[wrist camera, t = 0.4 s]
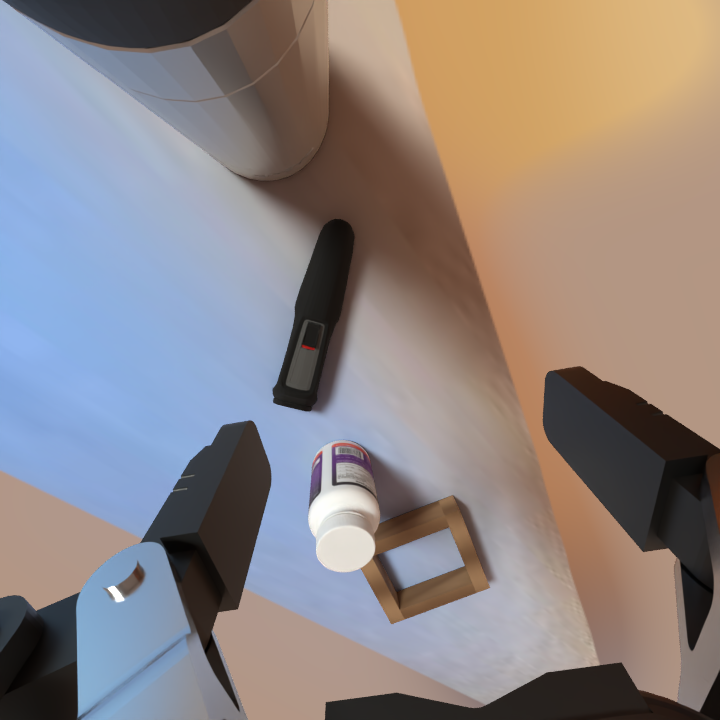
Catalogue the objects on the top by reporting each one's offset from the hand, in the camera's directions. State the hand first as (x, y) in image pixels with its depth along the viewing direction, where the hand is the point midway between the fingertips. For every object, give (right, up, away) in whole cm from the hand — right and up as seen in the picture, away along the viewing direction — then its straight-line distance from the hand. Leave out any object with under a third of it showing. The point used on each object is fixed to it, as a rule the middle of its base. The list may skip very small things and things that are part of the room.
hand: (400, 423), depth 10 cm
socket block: (+5, -18, +27) cm, 33 cm away
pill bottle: (-3, -8, +23) cm, 24 cm away
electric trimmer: (-5, +5, +19) cm, 20 cm away
